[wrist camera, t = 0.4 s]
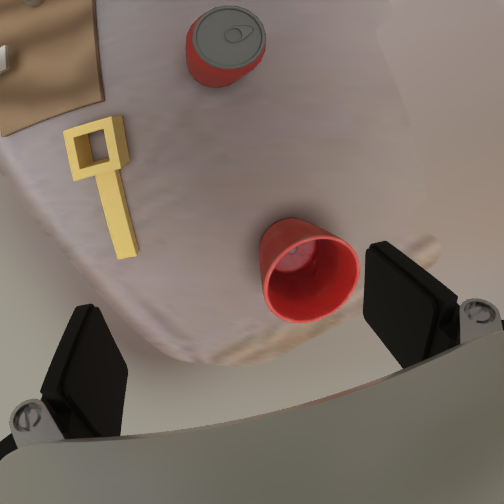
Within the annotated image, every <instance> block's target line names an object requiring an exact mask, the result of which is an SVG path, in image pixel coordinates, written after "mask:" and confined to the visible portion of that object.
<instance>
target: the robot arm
mask: <svg viewBox="0 0 504 504" xmlns="http://www.w3.org/2000/svg"><path fill="white" fill-rule="evenodd" d="M457 299H458V296H457V295H456V294H454V293H453V292H452V291H451V290H450V289H448V288H447V287H446V286H445V285H443V284H442V283H441V282H440V281H438V280H437V279H436V278H435V277H433V276H432V275H431V274H430V273H428V272H427V271H426V270H424V269H423V268H422V267H421V266H419V265H418V264H417V263H415V262H414V261H413V260H411V259H410V258H409V257H407V256H406V255H405V254H403V253H402V252H401V251H399V250H398V249H397V248H395V247H394V246H393V245H391V244H390V243H389V242H387V241H382V242H378V243H373V244H371V245H370V247H369V249H367V250H366V255H365V284H364V302H363V315H364V318H365V320H366V322H367V323H368V324H369V325H370V327H371V328H372V329H373V330H374V332H375V333H376V334H377V336H378V337H379V338H380V339H381V341H382V342H383V343H384V345H385V346H386V347H387V348H388V350H389V351H390V352H391V354H392V355H393V356H394V357H395V359H396V360H397V361H398V363H399V364H400V365H401V367H402V368H403V369H402V370H400V371H398V372H395V373H392V374H390V375H387V376H385V377H382V378H379V379H377V380H374V381H372V382H369V383H366V384H363V385H360V386H358V387H355V388H352V389H349V390H346V391H343V392H340V393H337V394H334V395H331V396H327V397H324V398H321V399H318V400H314V401H311V402H308V403H304V404H301V405H297V406H293V407H290V408H286V409H282V410H278V411H274V412H270V413H266V414H262V415H257V416H253V417H249V418H244V419H239V420H234V421H229V422H224V423H219V424H213V425H207V426H201V427H195V428H189V429H182V430H174V431H167V432H159V433H149V434H138V435H127V436H120V433H121V424H122V415H123V406H124V399H125V391H126V384H127V377H128V369H127V365H126V363H125V361H124V359H123V357H122V355H121V353H120V351H119V349H118V347H117V345H116V343H115V341H114V339H113V337H112V335H111V333H110V330H109V328H108V326H107V324H106V322H105V320H104V318H103V315H102V313H101V311H100V309H99V308H98V307H94V305H93V304H86V305H81V306H77V307H76V308H75V310H74V312H73V314H72V316H71V318H70V320H69V323H68V325H67V327H66V329H65V331H64V334H63V336H62V338H61V340H60V343H59V345H58V348H57V350H56V352H55V355H54V357H53V359H52V362H51V364H50V367H49V369H48V372H47V374H46V377H45V380H44V382H43V385H42V387H41V390H40V392H41V393H42V398H41V401H40V400H38V399H30V400H26V401H24V402H22V403H21V404H19V405H18V406H17V407H16V408H15V409H14V411H13V412H12V414H11V416H10V421H9V425H10V429H11V432H12V433H11V434H10V435H8V436H7V437H6V438H4V439H3V440H2V441H1V442H0V504H504V320H501V317H500V313H499V311H498V309H497V308H496V307H495V306H494V305H493V304H492V303H490V302H488V301H486V300H482V299H468V300H466V301H464V302H463V303H462V304H461V305H458V304H457Z"/></svg>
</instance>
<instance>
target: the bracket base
mask: <svg viewBox="0 0 504 504" xmlns="http://www.w3.org/2000/svg"><path fill="white" fill-rule="evenodd" d="M102 101H105V98H104V91H103V83H102V75H101V67H100V58H99V48H98V36H97V23H96V4H95V0H0V131H1V137H5V136H9V135H11V134H13V133H15V132H18V131H20V130H22V129H25V128H27V127H30V126H32V125H35V124H37V123H40V122H42V121H45V120H47V119H50V118H53V117H55V116H58V115H61V114H64V113H67V112H70V111H73V110H76V109H79V108H82V107H85V106H88V105H91V104H95V103H98V102H102Z"/></svg>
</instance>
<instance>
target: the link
mask: <svg viewBox="0 0 504 504" xmlns="http://www.w3.org/2000/svg"><path fill="white" fill-rule="evenodd" d="M103 129H104V134H105V139H106V144H107V149H108V154H109V158H106V159H102V160H98V161H94V162H93V157H92V152H91V147H90V142H89V137H88V134H89V133H93V132H96V131H100V130H103ZM63 133H64V139H65V144H66V149H67V154H68V159H69V163H70V168H71V172H72V176H73V180H74V181H76V180H80V179H83V178H87V177H91V176H94V175H95V177H96V181H97V186H98V190H99V194H100V198H101V202H102V206H103V209H104V213H105V217H106V220H107V224H108V228H109V231H110V234H111V238H112V241H113V245H114V248H115V251H116V254H117V258H118V259H123V258H128V257H133V256H137V253H138V250H139V248H138V244H137V241H136V237H135V233H134V230H133V226H132V222H131V218H130V214H129V210H128V206H127V202H126V198H125V194H124V189H123V185H122V180H121V176H120V171H119V169H121V168H122V167H124V166H125V165H126V164H127V163H128V162H130V158H129V153H128V147H127V142H126V137H125V131H124V125H123V119H122V116H111V117H107V118H104V119H100V120H97V121H93V122H90V123H87V124H83V125H80V126H77V127H74V128H71V129H68V130H65V131H63Z"/></svg>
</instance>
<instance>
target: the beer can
mask: <svg viewBox="0 0 504 504" xmlns="http://www.w3.org/2000/svg"><path fill="white" fill-rule="evenodd" d="M265 46H266V33H265V30H264V27H263V24H262V23H261V22H260V20H259V19H258V17H257V16H255V15H254V14H253V13H251V12H250V11H249V10H246V9H244V8H241V7H238V6H221V7H217V8H214V9H212V10H210V11H208V12H206V13H205V14H203V15H201V16H200V17H199V18H198V19H197V20H196V21H195V22H194V23H193V24H192V25H191V27H190V29H189V32H188V34H187V36H186V58H187V66H188V69H189V72H190V74H191V75H192V76H193V78H194V79H195V80H196V81H198V82H199V83H201V84H202V85H205V86H209V87H224V86H228V85H230V84H232V83H234V82H235V81H237V80H238V79H240V78H241V77H243V76H244V75H246V74H247V73H249V72H250V71H252V70H253V69H254V68H255V67H256V66H257V65H258V63H259V62H260V61H261V59H262V57H263V55H264V52H265Z"/></svg>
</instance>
